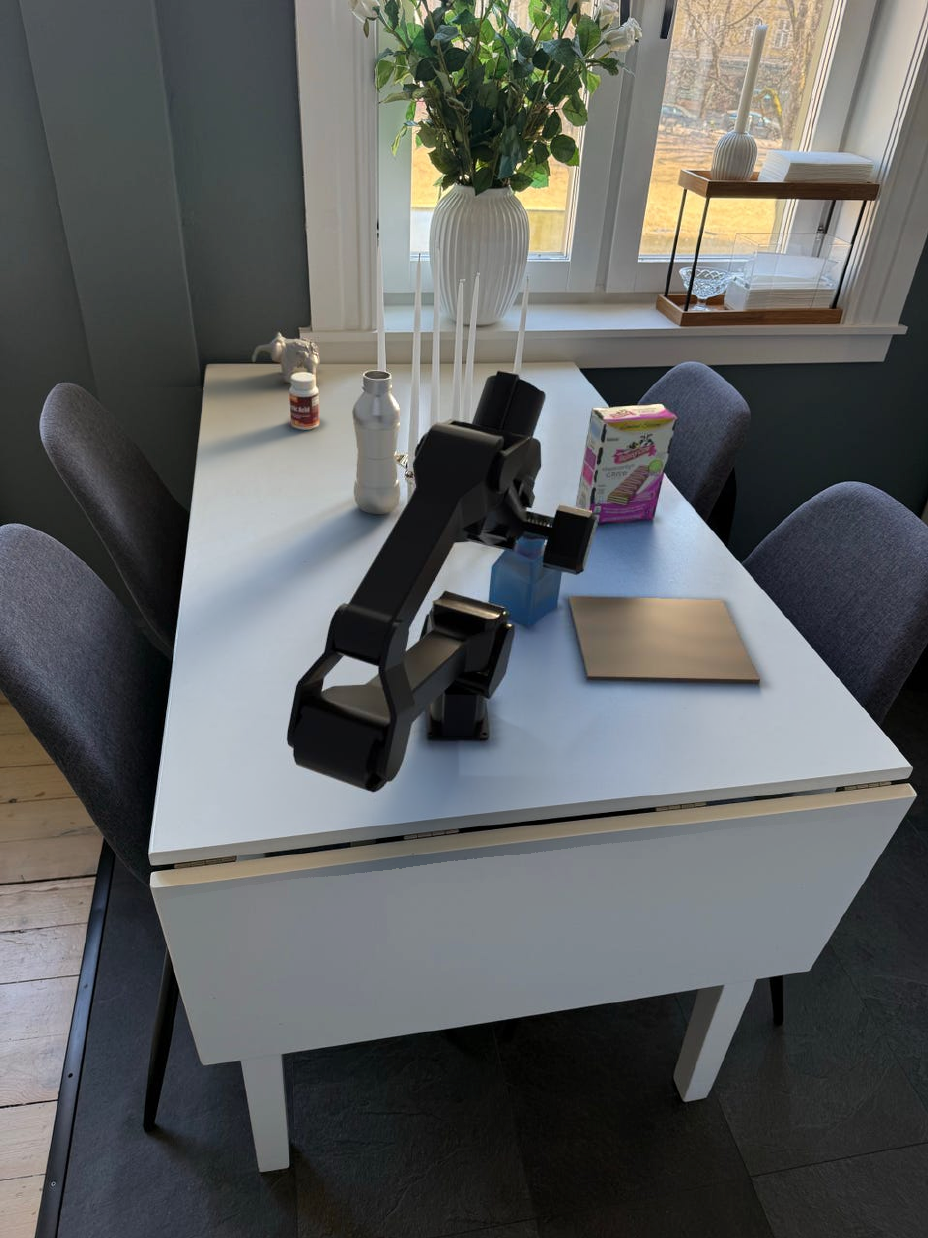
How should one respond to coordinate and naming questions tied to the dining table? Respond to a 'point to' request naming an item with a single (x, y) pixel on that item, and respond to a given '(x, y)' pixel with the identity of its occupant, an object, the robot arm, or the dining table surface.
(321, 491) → the dining table surface
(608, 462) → the candy bar box
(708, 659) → the walnut board
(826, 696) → the dining table surface
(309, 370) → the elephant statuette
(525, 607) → the perfume bottle
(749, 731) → the dining table surface
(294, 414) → the pill bottle
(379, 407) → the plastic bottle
